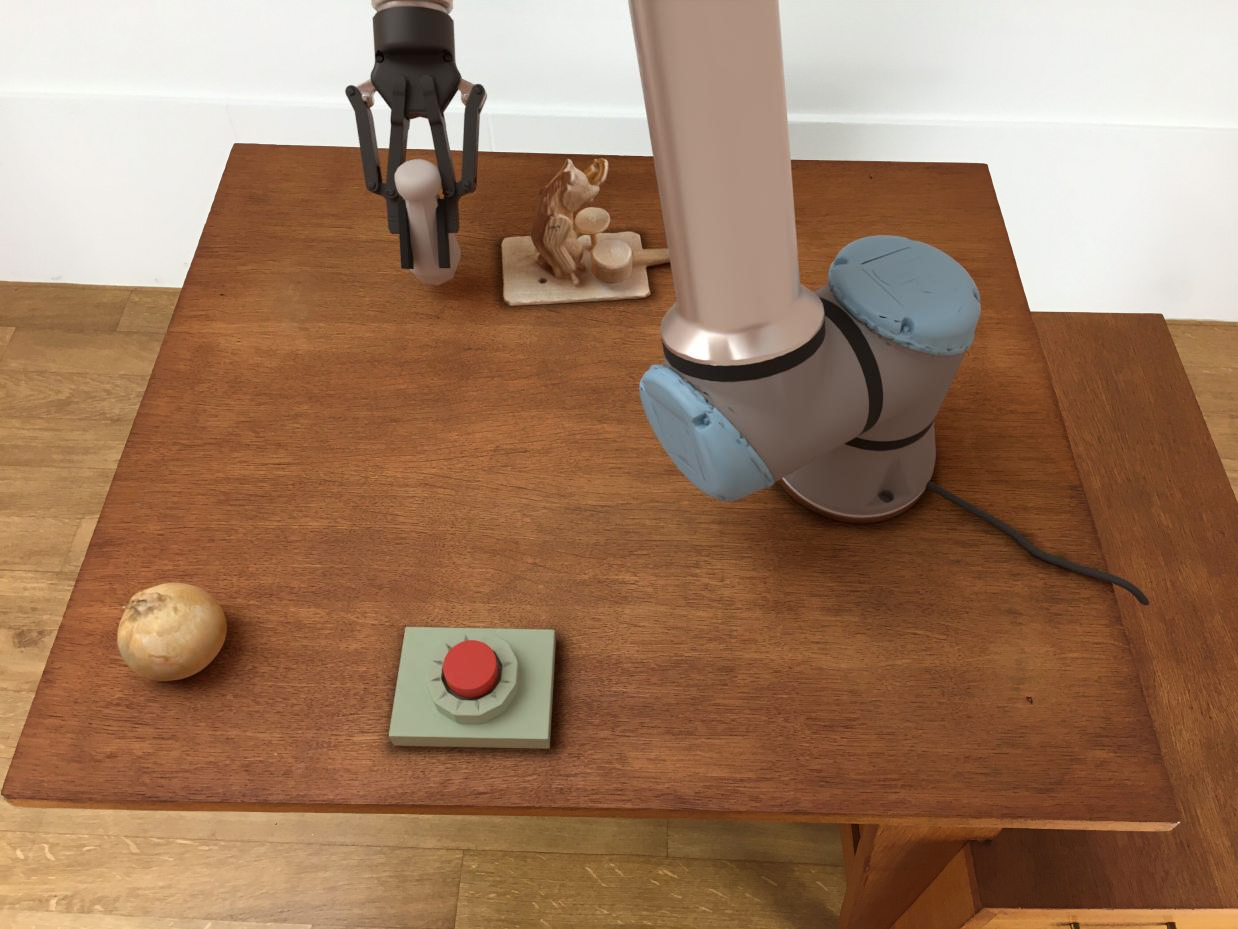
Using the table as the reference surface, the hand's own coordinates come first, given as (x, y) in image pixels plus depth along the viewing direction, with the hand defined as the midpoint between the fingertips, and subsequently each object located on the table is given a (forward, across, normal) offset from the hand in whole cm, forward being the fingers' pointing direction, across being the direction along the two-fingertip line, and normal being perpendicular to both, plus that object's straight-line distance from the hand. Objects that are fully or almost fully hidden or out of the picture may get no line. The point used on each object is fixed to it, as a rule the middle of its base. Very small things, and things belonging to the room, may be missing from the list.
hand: (426, 267), depth 95 cm
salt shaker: (0, 0, -6) cm, 6 cm away
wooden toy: (0, -18, -9) cm, 20 cm away
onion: (+31, +18, +21) cm, 41 cm away
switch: (+31, -6, +27) cm, 42 cm away
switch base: (+34, -6, +25) cm, 42 cm away
